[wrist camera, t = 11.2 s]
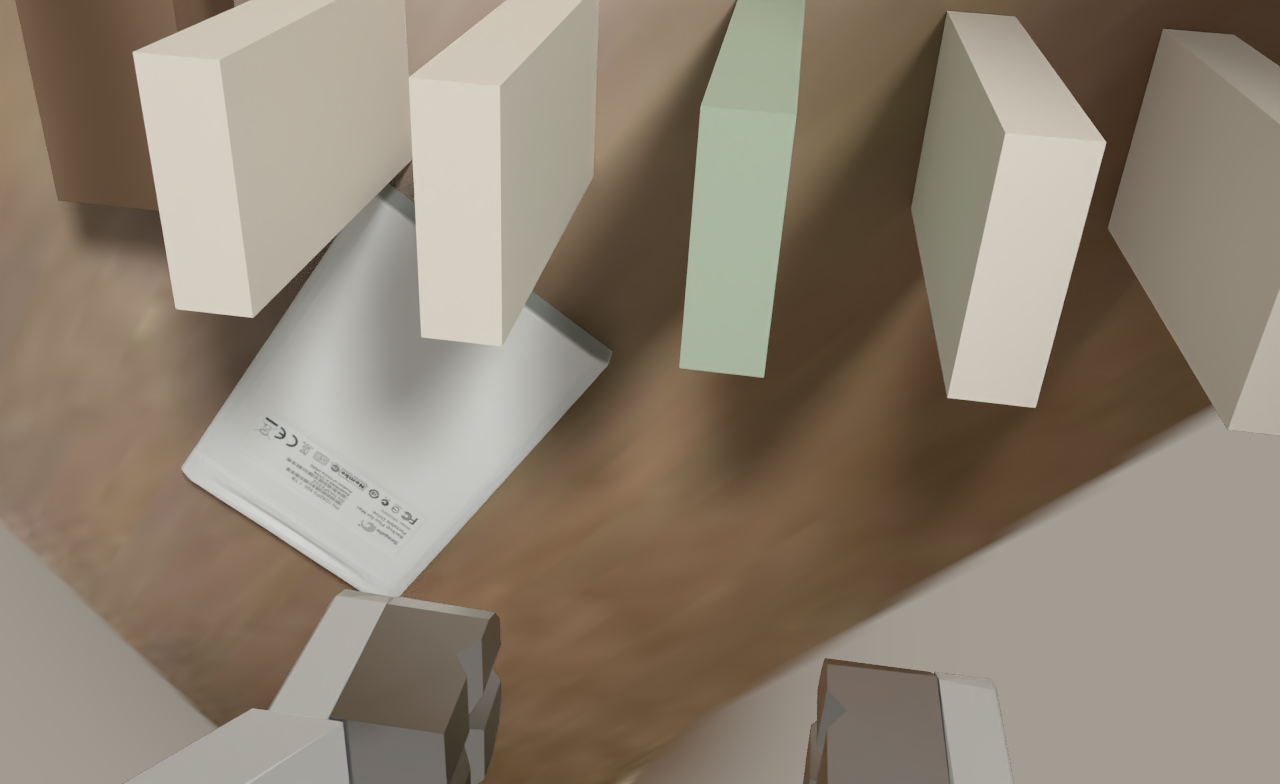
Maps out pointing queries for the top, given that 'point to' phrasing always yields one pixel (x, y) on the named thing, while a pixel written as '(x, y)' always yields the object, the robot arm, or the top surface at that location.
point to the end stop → (99, 90)
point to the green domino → (742, 189)
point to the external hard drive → (384, 411)
